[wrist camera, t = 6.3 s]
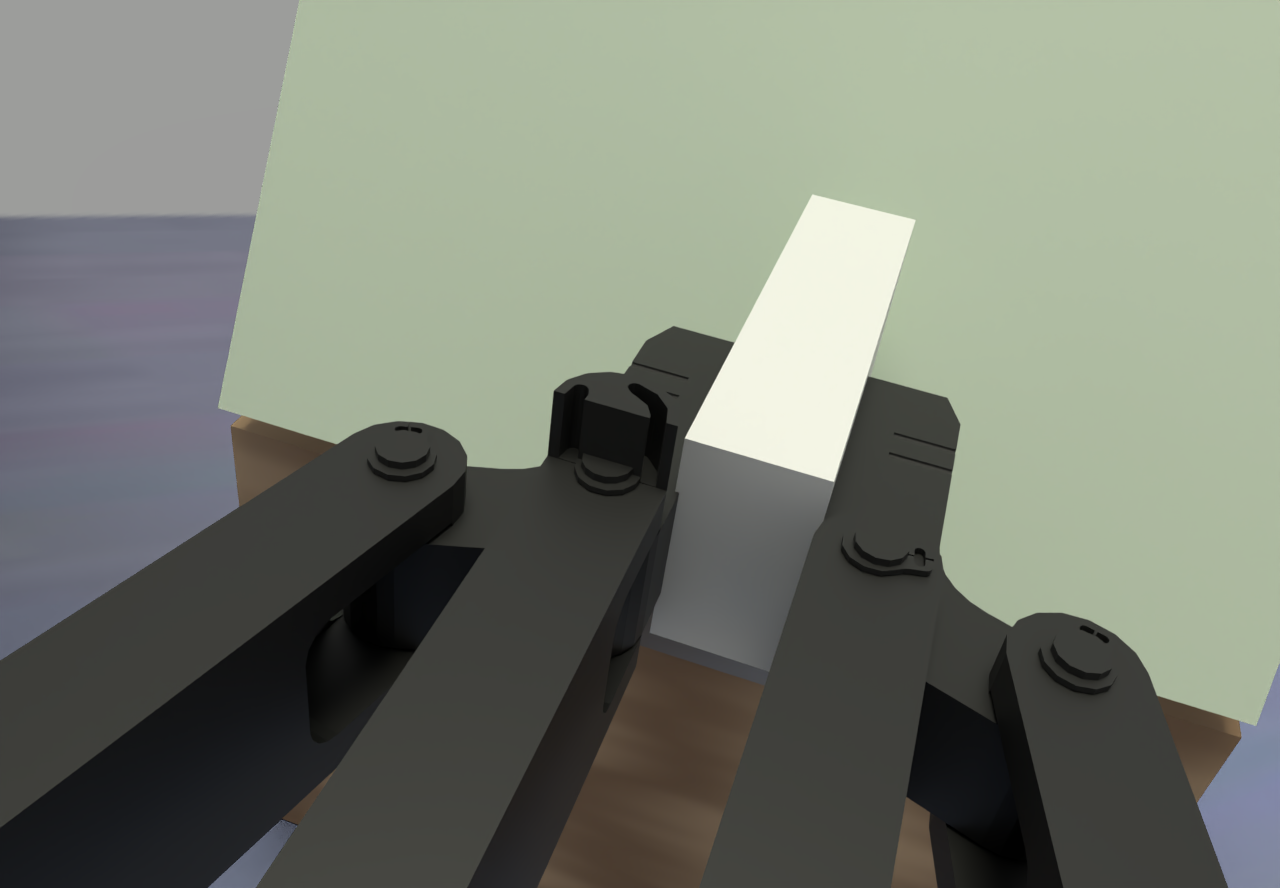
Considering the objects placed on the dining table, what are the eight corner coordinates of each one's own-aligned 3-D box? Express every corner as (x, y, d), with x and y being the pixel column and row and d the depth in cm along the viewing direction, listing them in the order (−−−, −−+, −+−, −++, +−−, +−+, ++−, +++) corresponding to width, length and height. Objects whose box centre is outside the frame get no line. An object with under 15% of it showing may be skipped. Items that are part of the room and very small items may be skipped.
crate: (268, 821, 28) (224, 431, 21) (473, 522, 38) (490, 183, 31) (1002, 1094, 25) (1242, 746, 18) (1024, 694, 35) (1186, 363, 28)
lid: (242, 404, 21) (217, 408, 20) (383, -293, 19) (362, -318, 18) (1239, 707, 18) (1256, 725, 17) (1525, -78, 16) (1559, -98, 15)
